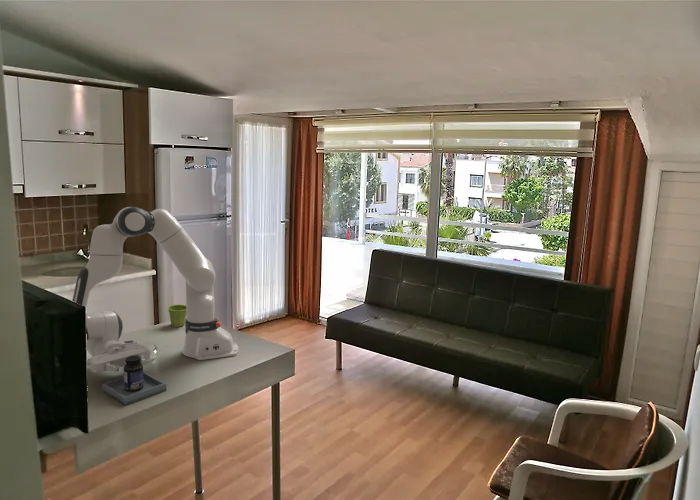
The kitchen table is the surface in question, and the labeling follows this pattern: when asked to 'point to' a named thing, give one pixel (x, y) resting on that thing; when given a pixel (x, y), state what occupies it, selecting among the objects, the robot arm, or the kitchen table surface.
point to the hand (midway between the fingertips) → (130, 365)
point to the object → (177, 315)
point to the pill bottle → (133, 374)
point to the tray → (127, 397)
